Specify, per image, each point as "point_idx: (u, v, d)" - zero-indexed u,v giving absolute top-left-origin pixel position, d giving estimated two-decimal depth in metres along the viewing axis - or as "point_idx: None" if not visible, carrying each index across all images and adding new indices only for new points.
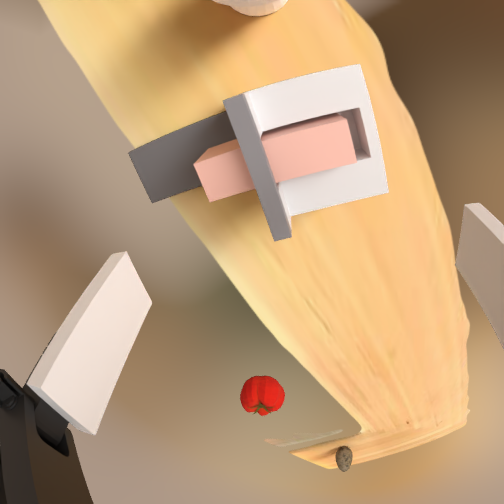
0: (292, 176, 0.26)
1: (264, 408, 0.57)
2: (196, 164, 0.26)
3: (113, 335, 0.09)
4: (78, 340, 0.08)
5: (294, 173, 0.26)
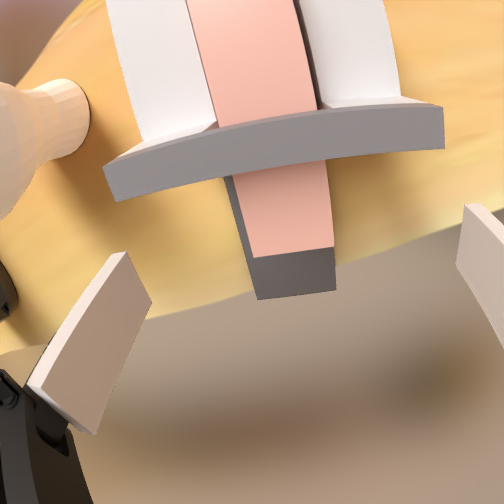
0: (305, 73, 0.10)
1: None
2: (254, 252, 0.15)
3: (113, 335, 0.09)
4: (78, 340, 0.08)
5: (298, 68, 0.10)
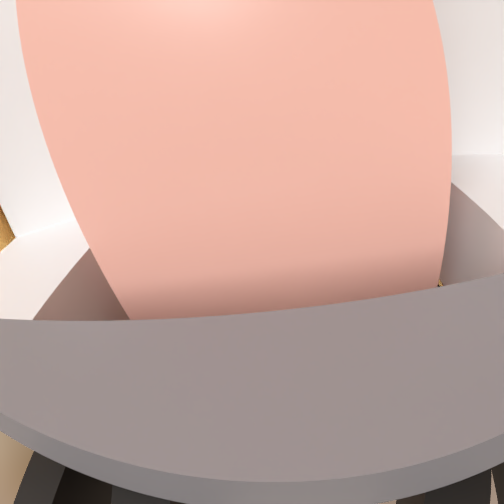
0: (429, 69, 0.02)
1: None
2: None
3: None
4: None
5: (403, 41, 0.02)
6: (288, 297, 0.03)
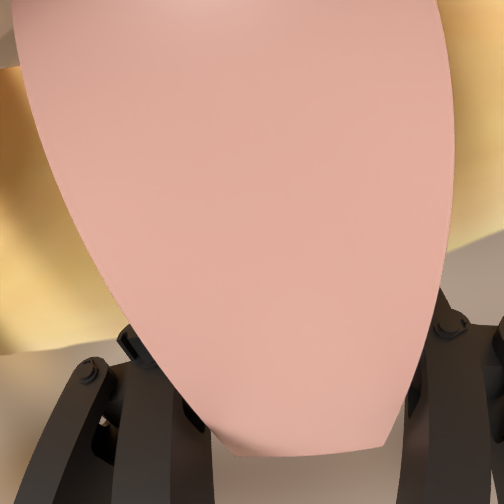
0: (431, 68, 0.02)
1: None
2: (236, 453, 0.07)
3: None
4: None
5: (405, 39, 0.02)
6: (287, 301, 0.03)
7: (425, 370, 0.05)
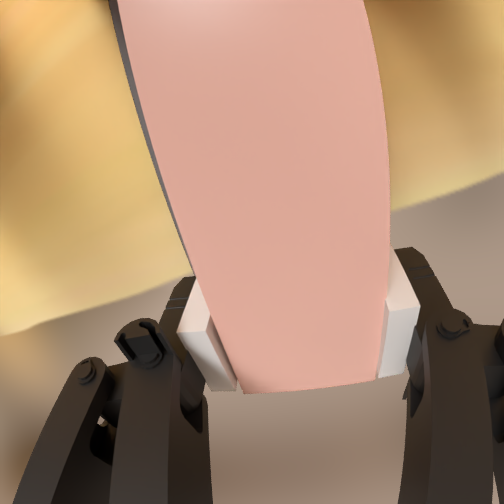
0: (367, 66, 0.04)
1: None
2: (246, 389, 0.08)
3: None
4: None
5: (351, 52, 0.04)
6: (291, 204, 0.05)
7: (428, 370, 0.05)
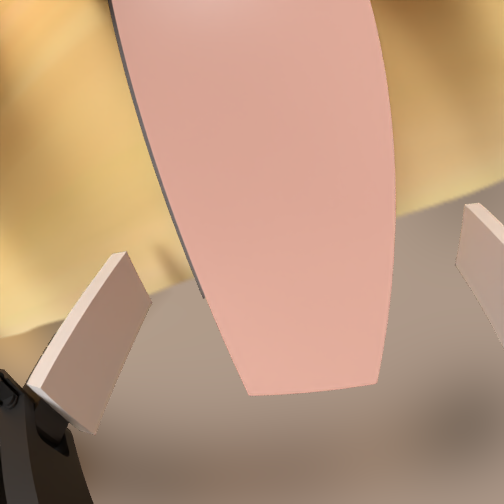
0: (375, 80, 0.04)
1: None
2: (250, 391, 0.09)
3: (113, 335, 0.09)
4: (78, 340, 0.08)
5: (360, 65, 0.04)
6: (297, 219, 0.05)
7: None
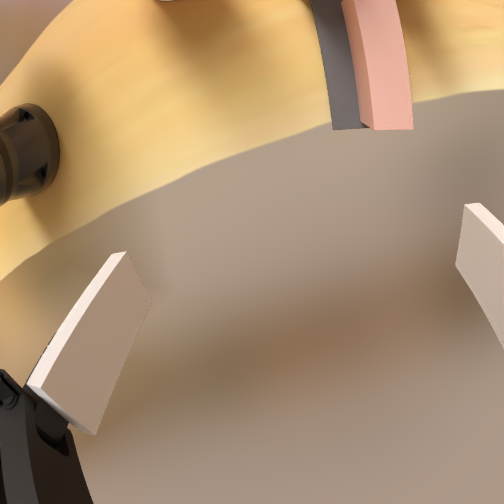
0: (403, 46, 0.19)
1: None
2: (375, 127, 0.24)
3: (113, 335, 0.09)
4: (78, 340, 0.08)
5: (400, 44, 0.19)
6: (390, 69, 0.20)
7: None
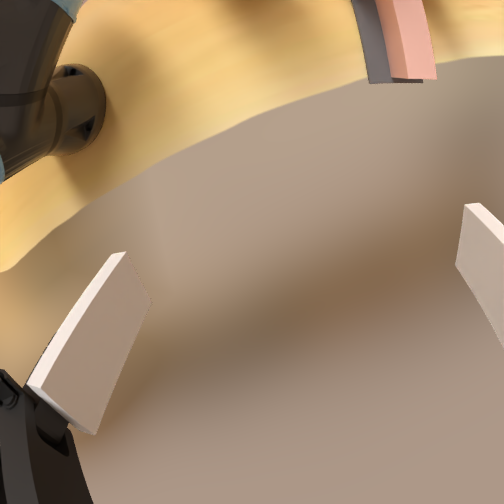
0: (424, 17, 0.21)
1: None
2: (408, 76, 0.26)
3: (113, 335, 0.09)
4: (78, 340, 0.08)
5: (422, 15, 0.21)
6: (416, 33, 0.23)
7: None
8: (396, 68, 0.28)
